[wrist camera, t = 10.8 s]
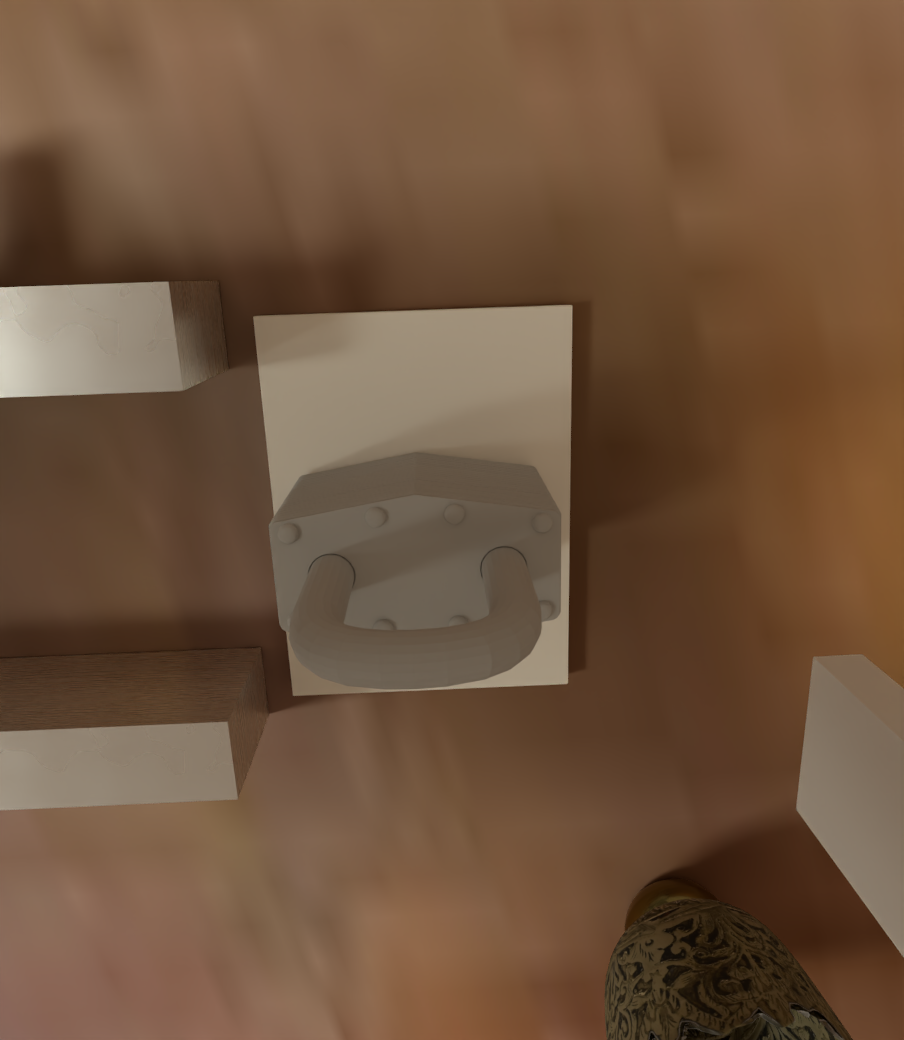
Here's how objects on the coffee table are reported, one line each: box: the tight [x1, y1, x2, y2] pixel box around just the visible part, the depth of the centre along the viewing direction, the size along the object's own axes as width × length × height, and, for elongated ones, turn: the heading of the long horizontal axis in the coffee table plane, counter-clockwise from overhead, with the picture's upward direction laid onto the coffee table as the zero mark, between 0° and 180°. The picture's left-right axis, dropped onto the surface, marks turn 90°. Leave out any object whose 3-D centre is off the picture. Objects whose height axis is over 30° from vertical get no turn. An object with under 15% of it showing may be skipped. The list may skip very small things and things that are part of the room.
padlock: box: [269, 452, 561, 689], centre depth 19 cm, size 7×4×10 cm, turn 92°
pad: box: [253, 305, 572, 696], centre depth 24 cm, size 9×12×1 cm
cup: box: [605, 878, 853, 1040], centre depth 26 cm, size 8×7×8 cm
